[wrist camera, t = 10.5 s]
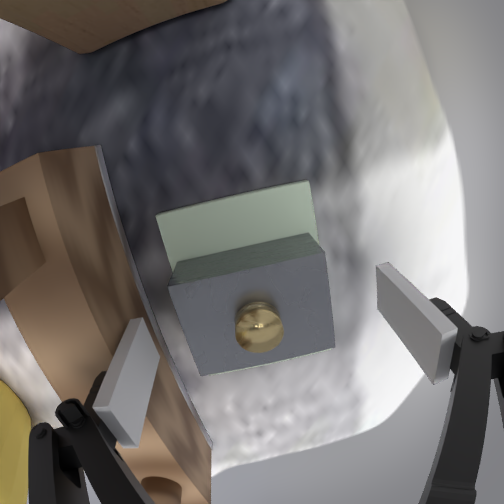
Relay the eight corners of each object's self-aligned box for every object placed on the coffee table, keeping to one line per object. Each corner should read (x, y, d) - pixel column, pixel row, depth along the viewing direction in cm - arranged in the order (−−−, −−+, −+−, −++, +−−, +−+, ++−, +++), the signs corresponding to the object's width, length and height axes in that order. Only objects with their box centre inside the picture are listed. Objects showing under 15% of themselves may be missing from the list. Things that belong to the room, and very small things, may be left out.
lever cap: (177, 261, 19) (163, 298, 15) (308, 232, 19) (331, 260, 15) (203, 342, 21) (199, 389, 17) (320, 317, 21) (341, 359, 17)
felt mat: (157, 213, 19) (155, 215, 18) (306, 179, 19) (309, 181, 18) (209, 370, 23) (209, 375, 22) (329, 344, 23) (331, 349, 22)
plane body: (35, 171, 17) (-124, 227, 5) (100, 145, 17) (-67, 173, 5) (160, 447, 26) (145, 565, 14) (212, 443, 26) (212, 568, 14)
